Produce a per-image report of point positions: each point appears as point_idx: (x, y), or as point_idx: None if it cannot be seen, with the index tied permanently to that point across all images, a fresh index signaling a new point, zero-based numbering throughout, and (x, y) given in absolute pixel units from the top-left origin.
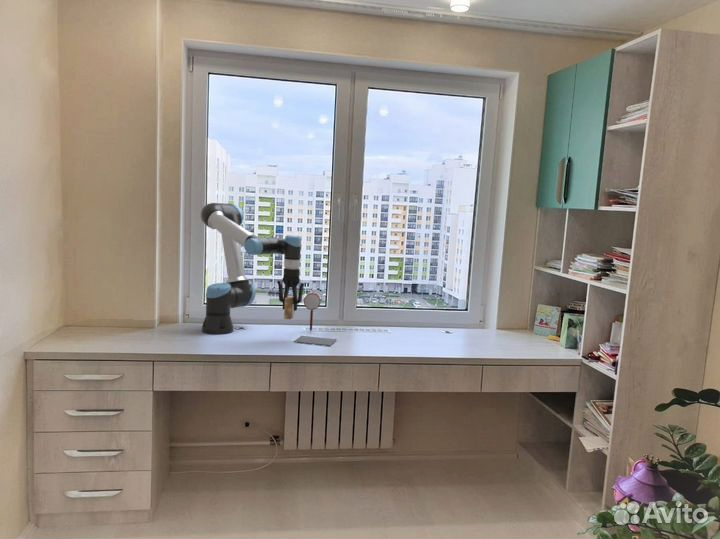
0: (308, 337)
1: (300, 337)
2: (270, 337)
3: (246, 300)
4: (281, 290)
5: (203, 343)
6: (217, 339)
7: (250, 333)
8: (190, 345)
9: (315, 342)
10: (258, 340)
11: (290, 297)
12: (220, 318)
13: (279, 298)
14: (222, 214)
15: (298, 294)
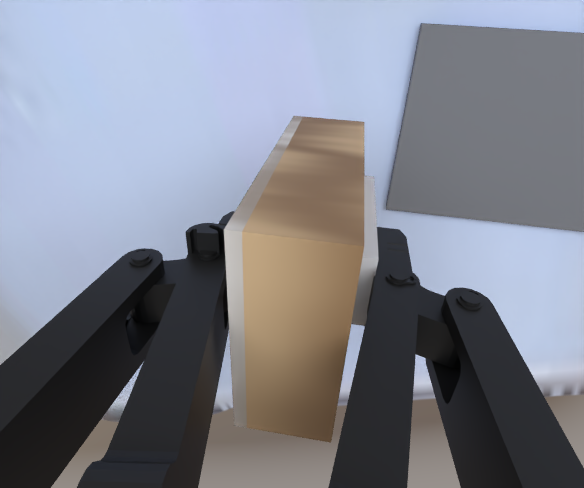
0: (488, 70)
1: (420, 92)
2: (211, 123)
3: None
4: (63, 450)
5: (17, 308)
6: (10, 242)
7: (48, 57)
8: (4, 338)
9: (541, 200)
10: (181, 211)
11: (293, 368)
12: None
13: (128, 334)
14: None
15: (461, 485)
